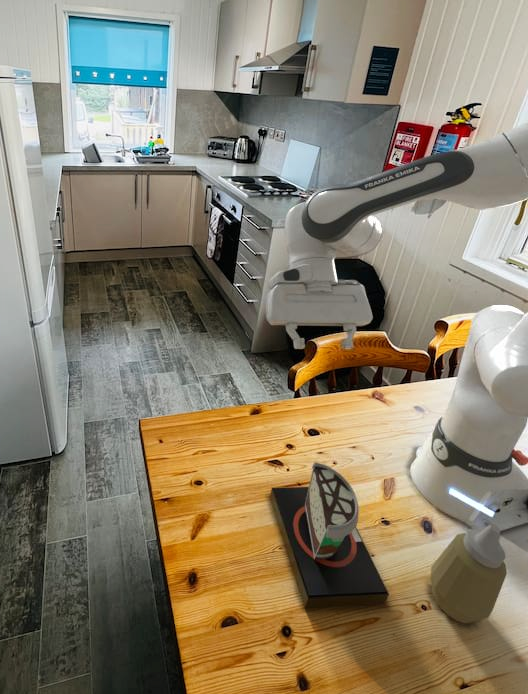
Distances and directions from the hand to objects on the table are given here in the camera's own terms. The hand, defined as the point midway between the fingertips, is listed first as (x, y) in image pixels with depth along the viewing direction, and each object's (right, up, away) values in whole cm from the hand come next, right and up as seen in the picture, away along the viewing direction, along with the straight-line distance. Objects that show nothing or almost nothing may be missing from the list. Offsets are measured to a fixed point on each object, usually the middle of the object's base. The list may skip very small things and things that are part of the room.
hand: (323, 348), depth 74 cm
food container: (-2, -31, -6) cm, 32 cm away
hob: (-2, -34, -5) cm, 34 cm away
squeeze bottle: (+16, -38, -11) cm, 43 cm away
